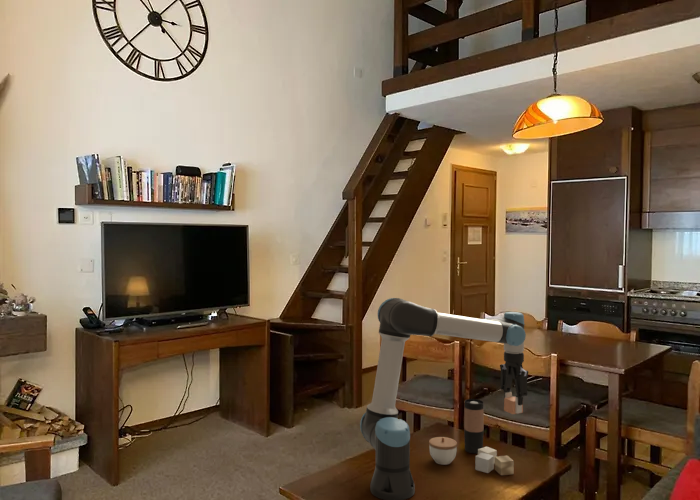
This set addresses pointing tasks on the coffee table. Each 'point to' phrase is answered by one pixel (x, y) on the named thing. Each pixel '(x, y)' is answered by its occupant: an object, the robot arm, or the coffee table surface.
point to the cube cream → (488, 451)
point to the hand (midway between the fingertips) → (513, 410)
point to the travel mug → (473, 425)
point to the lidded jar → (443, 449)
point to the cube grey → (484, 462)
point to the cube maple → (504, 465)
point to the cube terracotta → (510, 405)
